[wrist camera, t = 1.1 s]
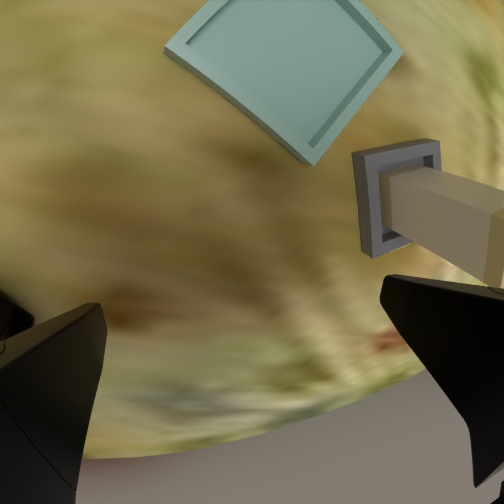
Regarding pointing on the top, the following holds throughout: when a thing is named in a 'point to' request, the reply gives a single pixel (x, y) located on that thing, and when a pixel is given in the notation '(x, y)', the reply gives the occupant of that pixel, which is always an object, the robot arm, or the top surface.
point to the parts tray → (289, 64)
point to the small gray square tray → (368, 194)
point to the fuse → (447, 218)
